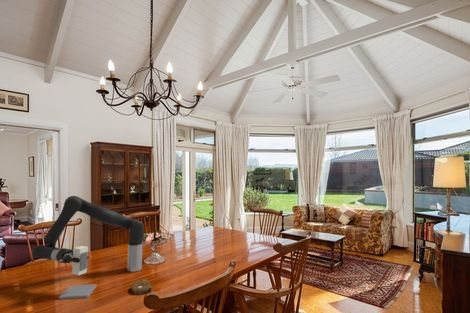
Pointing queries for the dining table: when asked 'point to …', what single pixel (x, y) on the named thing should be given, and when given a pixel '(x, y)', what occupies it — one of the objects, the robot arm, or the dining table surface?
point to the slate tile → (78, 291)
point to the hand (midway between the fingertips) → (83, 259)
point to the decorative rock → (141, 287)
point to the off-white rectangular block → (82, 254)
